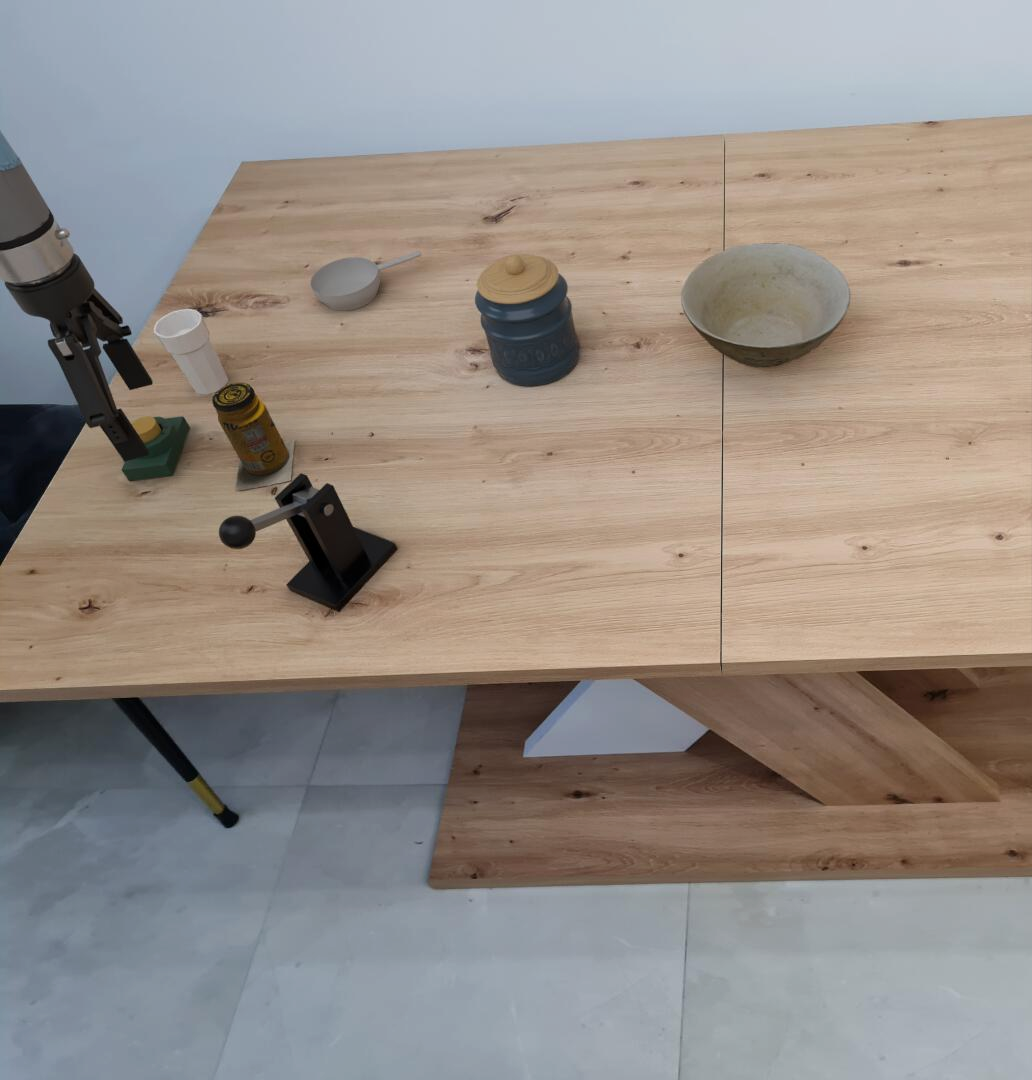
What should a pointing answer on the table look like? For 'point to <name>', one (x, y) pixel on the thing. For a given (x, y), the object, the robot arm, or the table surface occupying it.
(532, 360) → the canister
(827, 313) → the bowl
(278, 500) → the lever base
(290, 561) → the table surface
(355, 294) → the saucepan
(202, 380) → the cup
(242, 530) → the ball lever handle
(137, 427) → the button
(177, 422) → the control block
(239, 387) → the condiment
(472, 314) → the table surface
